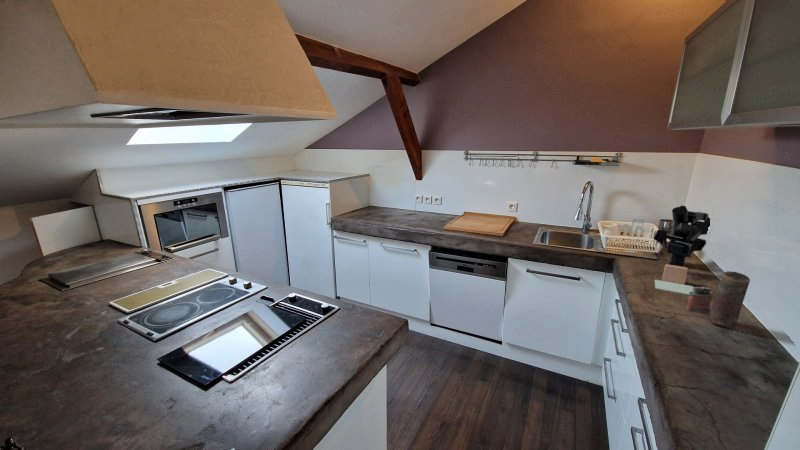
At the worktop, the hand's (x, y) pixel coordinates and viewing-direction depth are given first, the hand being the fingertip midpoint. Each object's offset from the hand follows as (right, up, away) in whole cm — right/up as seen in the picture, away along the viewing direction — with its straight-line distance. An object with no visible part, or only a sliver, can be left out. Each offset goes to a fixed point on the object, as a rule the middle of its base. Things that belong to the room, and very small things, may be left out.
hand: (677, 252), depth 154 cm
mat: (-5, -16, -5) cm, 17 cm away
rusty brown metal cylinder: (-11, -24, -32) cm, 41 cm away
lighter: (-11, -22, -22) cm, 33 cm away
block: (-2, -14, +1) cm, 14 cm away
